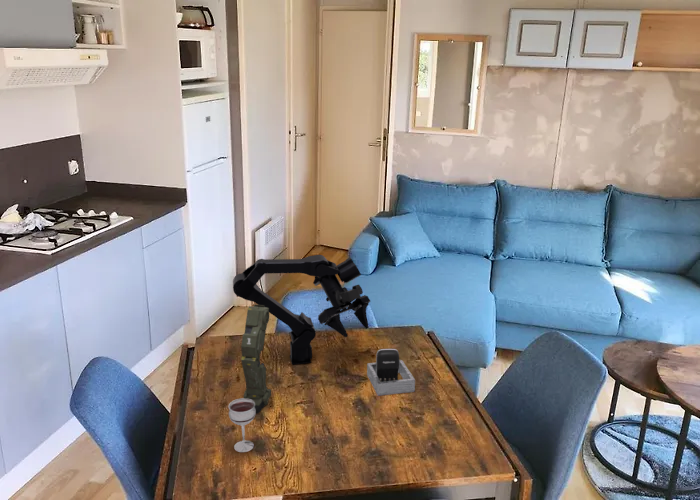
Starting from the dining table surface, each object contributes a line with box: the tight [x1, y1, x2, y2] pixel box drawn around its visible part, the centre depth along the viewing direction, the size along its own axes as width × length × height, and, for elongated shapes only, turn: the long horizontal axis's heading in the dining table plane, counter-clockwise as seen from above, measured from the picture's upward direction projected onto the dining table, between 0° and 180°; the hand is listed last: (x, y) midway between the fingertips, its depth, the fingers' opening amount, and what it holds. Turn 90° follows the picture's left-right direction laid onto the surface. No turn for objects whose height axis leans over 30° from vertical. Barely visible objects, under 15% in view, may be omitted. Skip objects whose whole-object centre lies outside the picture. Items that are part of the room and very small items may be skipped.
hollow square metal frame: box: [366, 359, 416, 396], centre depth 183 cm, size 12×13×4 cm
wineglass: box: [228, 397, 257, 453], centre depth 150 cm, size 7×7×12 cm
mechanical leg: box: [240, 304, 272, 415], centre depth 169 cm, size 14×7×30 cm, turn 168°
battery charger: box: [375, 348, 400, 382], centre depth 181 cm, size 7×4×11 cm, turn 94°
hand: (357, 332), depth 186 cm, fingers open, 9 cm apart
